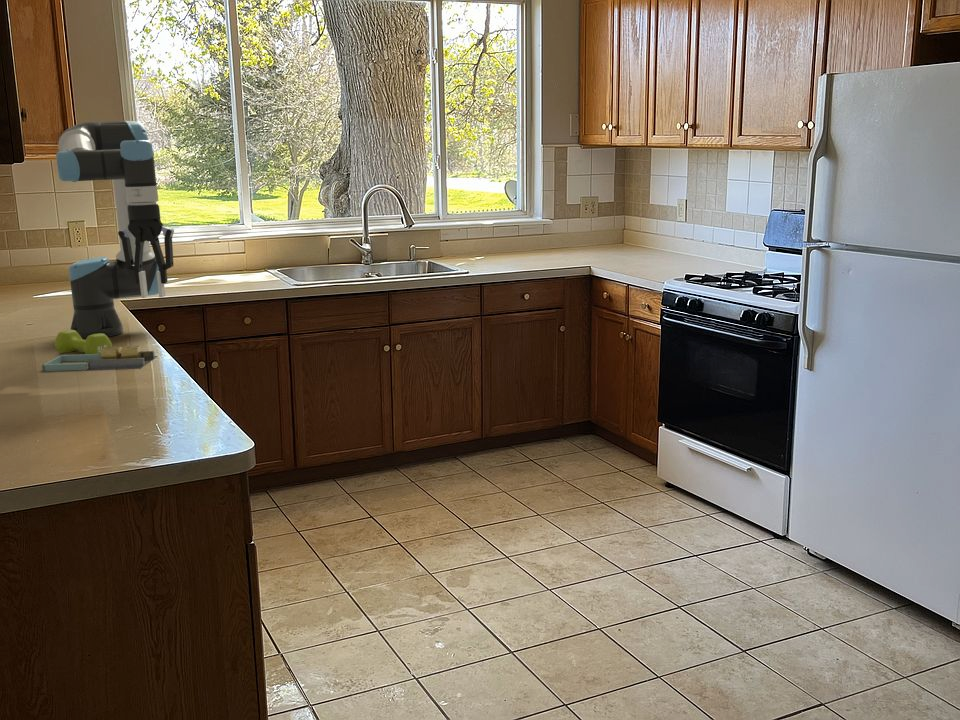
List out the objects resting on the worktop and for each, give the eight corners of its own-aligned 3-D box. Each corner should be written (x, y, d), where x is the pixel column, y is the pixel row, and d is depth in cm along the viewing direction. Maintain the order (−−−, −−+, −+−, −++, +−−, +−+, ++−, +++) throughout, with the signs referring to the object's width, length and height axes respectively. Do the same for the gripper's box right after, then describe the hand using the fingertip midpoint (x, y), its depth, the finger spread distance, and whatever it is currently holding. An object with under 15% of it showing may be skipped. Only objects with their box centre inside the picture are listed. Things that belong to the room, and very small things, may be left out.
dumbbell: (53, 358, 256) (50, 332, 254) (79, 352, 262) (75, 327, 261) (91, 363, 247) (87, 337, 246) (116, 357, 254) (113, 332, 252)
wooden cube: (125, 361, 241) (123, 346, 240) (141, 360, 242) (139, 345, 241) (122, 365, 237) (120, 349, 236) (138, 364, 238) (137, 348, 237)
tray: (62, 366, 245) (60, 355, 244) (103, 364, 245) (102, 353, 244) (43, 376, 234) (41, 365, 233) (87, 375, 234) (85, 363, 233)
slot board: (105, 363, 246) (104, 350, 245) (158, 361, 246) (157, 348, 246) (85, 376, 233) (83, 362, 232) (141, 374, 233) (139, 360, 232)
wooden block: (107, 362, 241) (105, 347, 240) (123, 361, 241) (121, 346, 240) (101, 365, 237) (99, 350, 236) (117, 365, 237) (115, 349, 236)
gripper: (103, 205, 226) (115, 300, 232) (172, 203, 227) (182, 297, 232) (114, 203, 234) (125, 295, 239) (181, 201, 234) (190, 293, 239)
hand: (153, 296), depth 235 cm, fingers open, 4 cm apart
